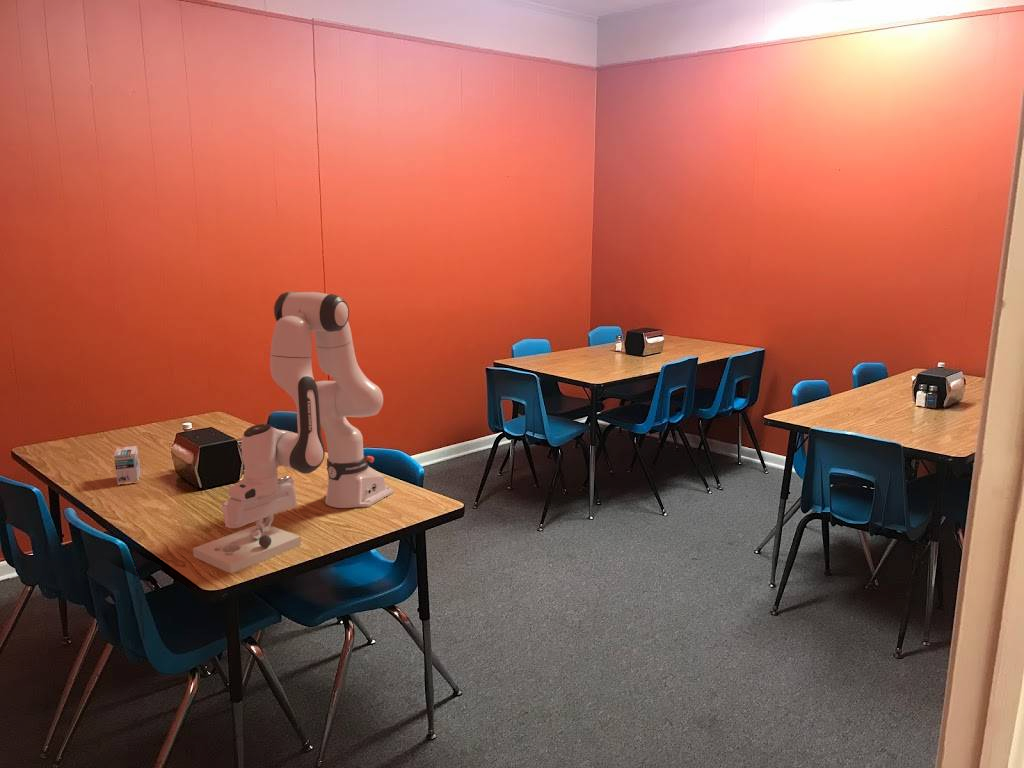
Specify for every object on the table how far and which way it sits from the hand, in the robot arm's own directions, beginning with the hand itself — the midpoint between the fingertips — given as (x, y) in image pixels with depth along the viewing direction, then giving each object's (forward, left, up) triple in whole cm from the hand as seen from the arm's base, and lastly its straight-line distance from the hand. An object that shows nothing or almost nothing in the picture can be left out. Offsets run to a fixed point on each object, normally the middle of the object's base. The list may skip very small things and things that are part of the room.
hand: (265, 531), depth 215 cm
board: (+6, 0, -4) cm, 7 cm away
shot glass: (-3, -19, -4) cm, 20 cm away
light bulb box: (-5, -84, -4) cm, 84 cm away
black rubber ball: (+5, +6, 0) cm, 8 cm away
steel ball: (+3, 0, 0) cm, 3 cm away
